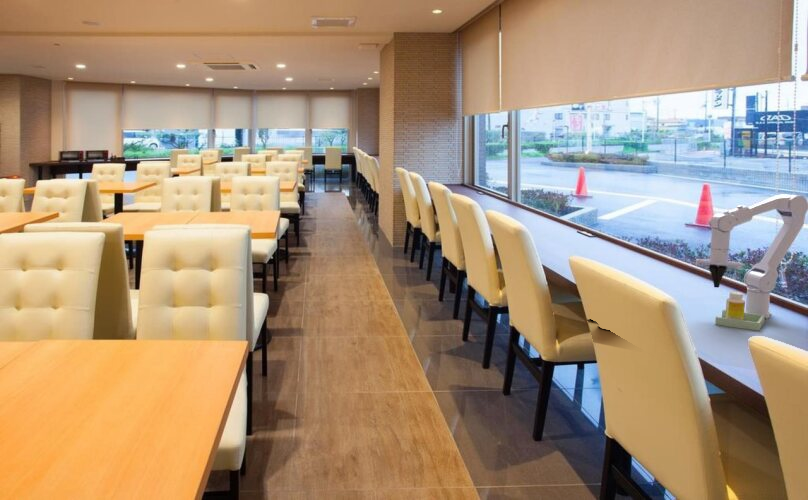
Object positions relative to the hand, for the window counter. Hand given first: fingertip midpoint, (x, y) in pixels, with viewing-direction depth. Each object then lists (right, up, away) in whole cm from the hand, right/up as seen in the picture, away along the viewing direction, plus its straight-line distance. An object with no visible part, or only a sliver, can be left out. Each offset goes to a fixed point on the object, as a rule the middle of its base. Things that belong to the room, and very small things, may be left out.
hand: (716, 286), depth 229 cm
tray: (+4, -12, -8) cm, 15 cm away
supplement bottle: (+2, -12, -8) cm, 14 cm away
